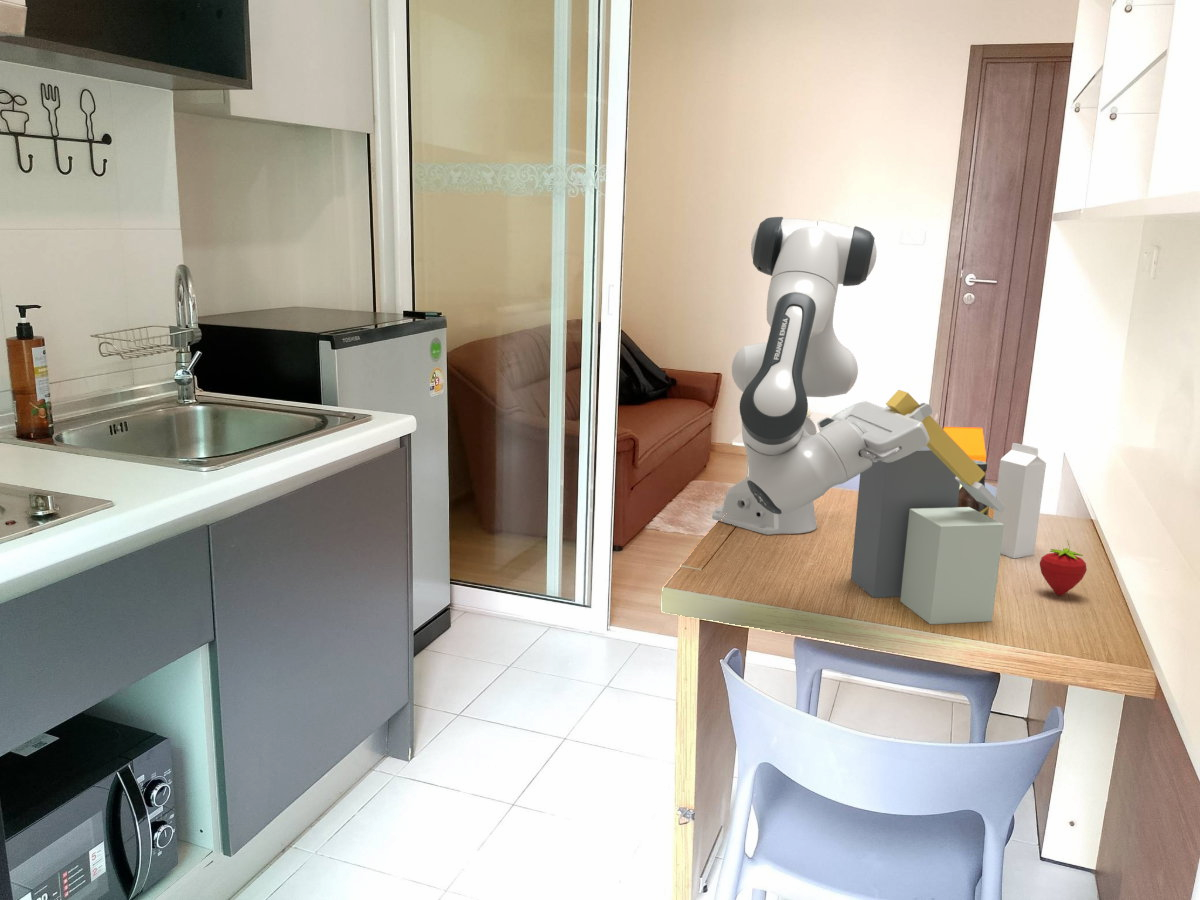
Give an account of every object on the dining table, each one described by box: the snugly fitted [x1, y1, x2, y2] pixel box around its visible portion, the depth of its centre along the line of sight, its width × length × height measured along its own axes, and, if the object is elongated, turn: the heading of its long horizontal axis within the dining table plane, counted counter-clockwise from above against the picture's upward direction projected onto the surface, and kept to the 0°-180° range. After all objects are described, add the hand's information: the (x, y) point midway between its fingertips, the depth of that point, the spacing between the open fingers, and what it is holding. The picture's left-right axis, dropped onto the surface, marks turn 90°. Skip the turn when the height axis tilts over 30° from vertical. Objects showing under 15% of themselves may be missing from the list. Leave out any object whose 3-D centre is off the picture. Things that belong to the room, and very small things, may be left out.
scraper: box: [885, 389, 1005, 512], centre depth 153 cm, size 26×7×3 cm
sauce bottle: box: [958, 460, 990, 517], centre depth 183 cm, size 7×6×20 cm
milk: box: [992, 442, 1047, 559], centre depth 189 cm, size 6×6×22 cm
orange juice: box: [942, 426, 987, 490], centre depth 216 cm, size 8×9×20 cm
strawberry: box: [1039, 539, 1087, 596], centre depth 167 cm, size 6×8×10 cm
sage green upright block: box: [899, 507, 1004, 625], centre depth 158 cm, size 11×10×16 cm
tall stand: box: [850, 446, 964, 599], centre depth 167 cm, size 14×9×26 cm, turn 101°
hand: (921, 404), depth 150 cm, fingers closed on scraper, 3 cm apart
